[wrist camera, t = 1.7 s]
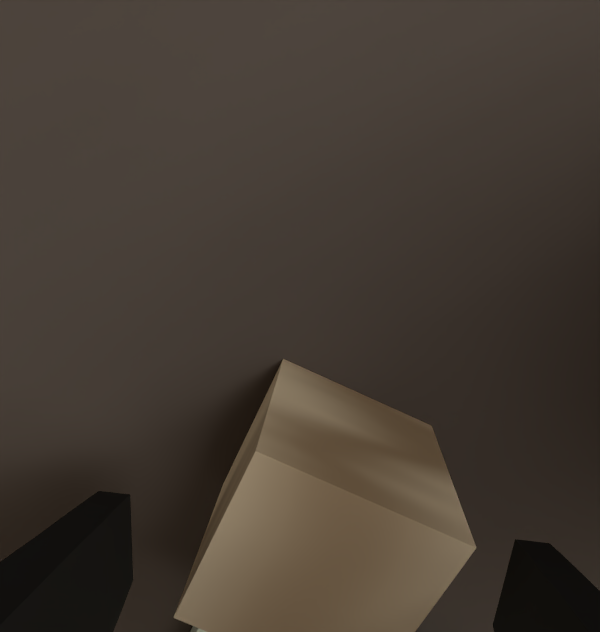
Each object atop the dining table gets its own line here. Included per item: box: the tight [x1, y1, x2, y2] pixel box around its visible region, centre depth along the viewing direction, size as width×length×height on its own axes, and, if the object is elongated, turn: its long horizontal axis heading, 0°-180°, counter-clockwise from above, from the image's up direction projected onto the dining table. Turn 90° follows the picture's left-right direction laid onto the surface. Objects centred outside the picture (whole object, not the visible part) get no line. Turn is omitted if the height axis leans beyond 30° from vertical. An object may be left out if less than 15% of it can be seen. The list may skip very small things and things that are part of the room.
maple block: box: [173, 359, 476, 632], centre depth 10 cm, size 4×4×4 cm
